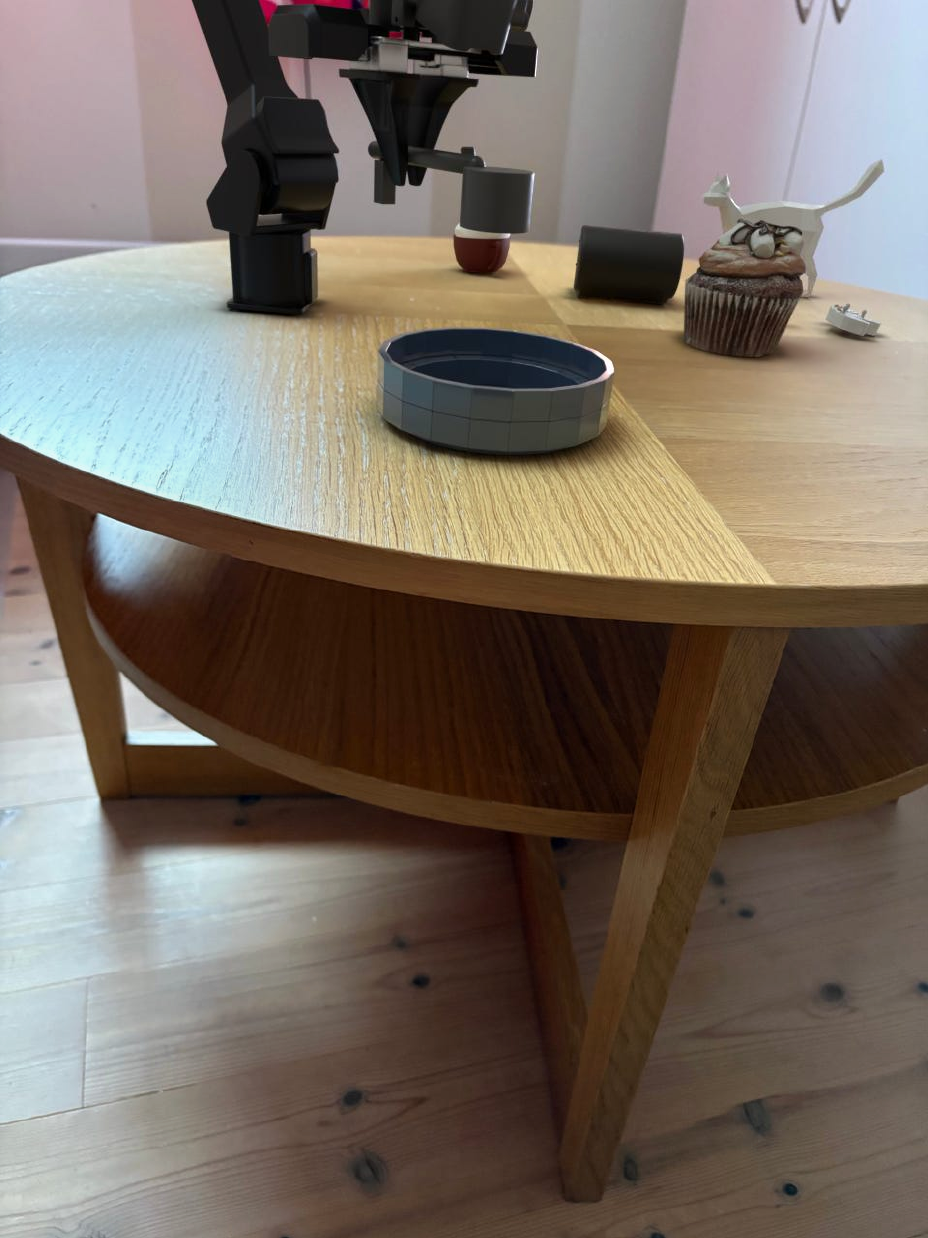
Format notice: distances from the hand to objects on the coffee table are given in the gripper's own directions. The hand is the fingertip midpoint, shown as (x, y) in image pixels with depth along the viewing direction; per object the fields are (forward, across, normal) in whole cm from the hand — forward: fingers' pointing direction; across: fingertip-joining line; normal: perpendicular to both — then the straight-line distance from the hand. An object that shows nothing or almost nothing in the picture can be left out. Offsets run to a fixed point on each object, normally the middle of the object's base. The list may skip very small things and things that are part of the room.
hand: (406, 185), depth 65 cm
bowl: (+11, -6, -18) cm, 22 cm away
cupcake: (+12, +26, -12) cm, 31 cm away
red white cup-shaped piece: (+11, +26, +23) cm, 37 cm away
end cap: (+11, +31, +5) cm, 33 cm away
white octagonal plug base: (+12, +40, -11) cm, 43 cm away
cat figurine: (+12, +52, +2) cm, 54 cm away
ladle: (+1, 0, -4) cm, 4 cm away
